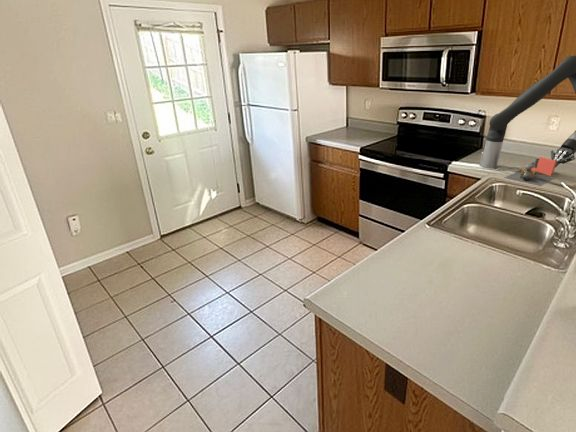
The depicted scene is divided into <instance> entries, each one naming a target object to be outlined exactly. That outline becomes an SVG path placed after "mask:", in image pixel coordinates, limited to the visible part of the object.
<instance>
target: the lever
mask: <svg viewBox="0 0 576 432" xmlns="http://www.w3.org/2000/svg"><path fill="white" fill-rule="evenodd" d="M538 159H539V161H538V165H537V168H533V167H534V165H530V164H531V163H530V164H525V166H524V168H525V169H528V170H533V171H535V173H536V172H537V173H540V174H544V175H546V176H549V177H553V176H554V172H555V166H556V162H557V161H555V160H552V159H550V158H546V157H543V156H539V158H538Z"/></svg>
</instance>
